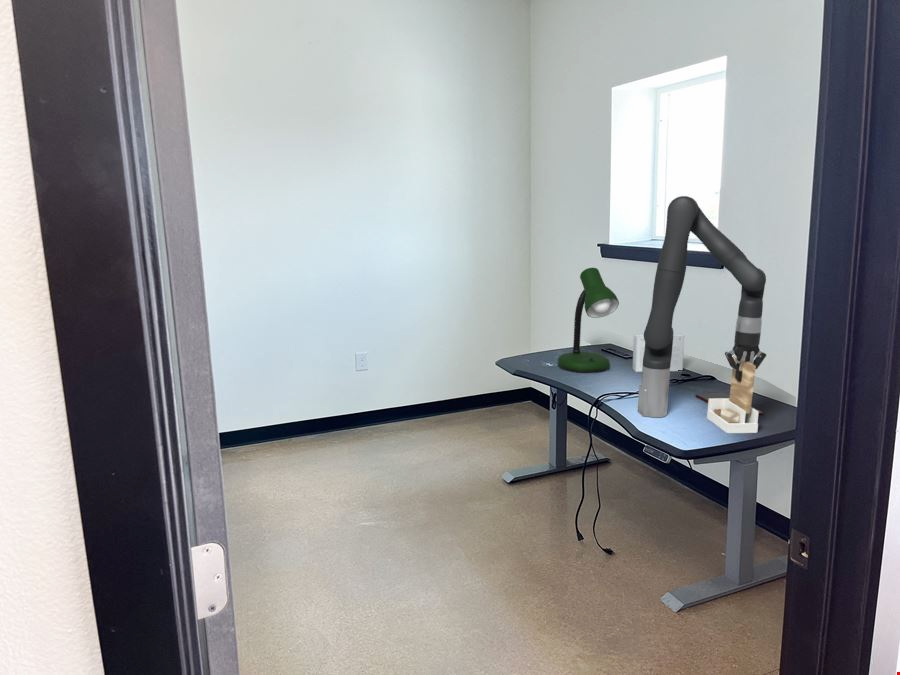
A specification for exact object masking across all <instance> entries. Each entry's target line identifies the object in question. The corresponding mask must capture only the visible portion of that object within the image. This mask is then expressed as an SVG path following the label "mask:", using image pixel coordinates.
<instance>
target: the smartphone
mask: <svg viewBox="0 0 900 675" xmlns="http://www.w3.org/2000/svg"><path fill="white" fill-rule="evenodd" d="M695 398H697V399H699V400H701V401H703V402H705V403H706V404H708V400H709V399H713V398H730V394H727V393H724V392H718V391H716V392H704V393H703V392H702V393H697V394H695ZM751 407H752V408H754V409H755V410H757V411H758V412H759V413H758V416H761V415H762V416H763V415H765V412H763V411H761V410H759V409H757V408H755V407H753V406H751Z"/></svg>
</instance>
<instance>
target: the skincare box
mask: <svg viewBox="0 0 900 675" xmlns="http://www.w3.org/2000/svg"><path fill="white" fill-rule="evenodd" d="M684 347H685V335H683V334H679V333H678V334H676V333H675V334H674V333H673V347H672V357H671V365H670V372H679V371H678V370H683V367H684V354H685V352H684ZM644 350H645V340H644V334H633V351H632V370H633V371H634V372H635V373H642V367H643V356H644Z"/></svg>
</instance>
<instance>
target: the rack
mask: <svg viewBox="0 0 900 675" xmlns="http://www.w3.org/2000/svg"><path fill="white" fill-rule="evenodd" d="M752 407H753V406H751V412H750V413H746V411H745V410H743V409H741V408H740V407H738V406H737V405H735V404H734V403H732V402H731V401H729V398H713V399H709V400H708V403H707V412H706V419H708V420H709V421H711V423H713V424H714V425H715V426H717V427H718V428H720V429H721V430H722V431H723V432H725V433H726V434H754V433H755V434H756V433H758V429H759V423H758V422H759V421H758V420H759V415H758V413H759V412H758V411H757V410H758V409H757V410H755V409H756V408H755V407H753V408H752ZM728 408H731V409H733V410H735V411H736V412H738V413H739V422H738V423H728V422H726V421H725V420H724V419H722V418H721V417H719V416H718V415H717V414H715V413H714V409H728ZM754 408H755V409H754Z"/></svg>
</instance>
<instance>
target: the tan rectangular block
mask: <svg viewBox="0 0 900 675" xmlns="http://www.w3.org/2000/svg"><path fill="white" fill-rule="evenodd" d="M733 358H734V361H735V363H736V356H734V357H733ZM756 370H757V369H756V366H755V365H753V364H751V363H749V362H747V361H745V363H744V365H743V370H742V371H743V372H742V381H741V382H738V381H737V380H736V379H735V375H736V369H734V368H732V372H731V382H730V391H729V396H730V398H729V401H731V402H732V403H734V404H735V405H737V406H738V407H740V408H741V409H743V410H745V411H746V413H750V412H751V407H752V403H753V402H752V401H753V394H754V385H755V376H756Z"/></svg>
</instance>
